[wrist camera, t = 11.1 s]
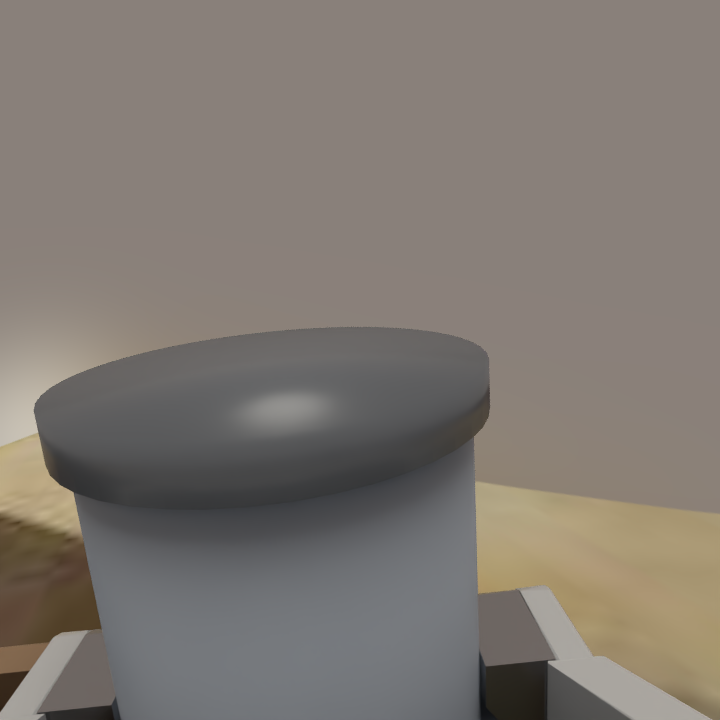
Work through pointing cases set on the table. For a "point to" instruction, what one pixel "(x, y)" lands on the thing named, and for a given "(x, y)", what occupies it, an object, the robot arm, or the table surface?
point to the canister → (281, 522)
